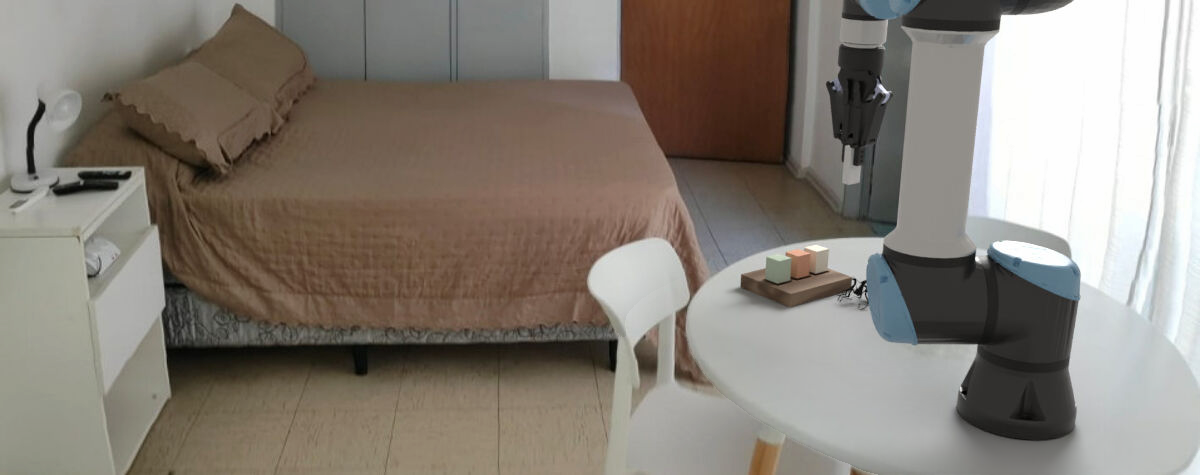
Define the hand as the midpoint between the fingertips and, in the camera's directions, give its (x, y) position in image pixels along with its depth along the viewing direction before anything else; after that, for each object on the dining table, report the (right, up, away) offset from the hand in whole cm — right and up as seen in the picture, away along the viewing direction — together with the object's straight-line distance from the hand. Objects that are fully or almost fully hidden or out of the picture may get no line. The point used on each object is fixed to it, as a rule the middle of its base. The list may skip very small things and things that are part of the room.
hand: (850, 182), depth 202 cm
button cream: (-5, -15, +6) cm, 17 cm away
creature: (+1, -20, -1) cm, 21 cm away
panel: (-9, -18, +5) cm, 21 cm away
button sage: (-12, -17, +1) cm, 21 cm away
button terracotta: (-9, -16, +4) cm, 18 cm away
